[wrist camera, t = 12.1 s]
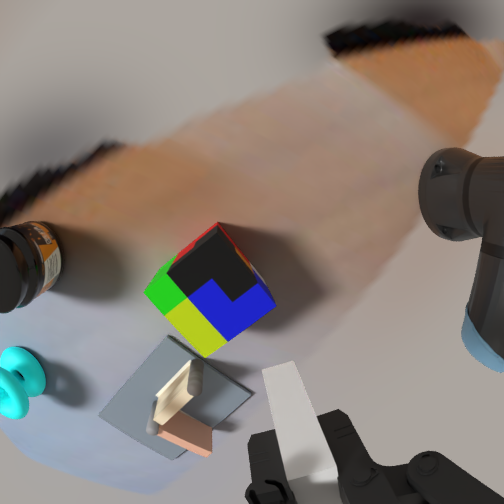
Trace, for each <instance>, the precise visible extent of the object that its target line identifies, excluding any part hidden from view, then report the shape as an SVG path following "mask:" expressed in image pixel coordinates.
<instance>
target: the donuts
mask: <svg viewBox="0 0 504 504" xmlns="http://www.w3.org/2000/svg"><path fill="white" fill-rule="evenodd" d="M0 365H1V367H0V413H1V414H3V415H4V416H6V417H8V418H11V419H21V418H23V417H25V416H26V415H27V413H28V410H29V400H28V397H36V396H39V395H40V394H41V393H42V392H43V391H44V389H45V386H46V378H45V374H44V371H43V369H42V367H41V365H40V364H39V362H38V361H37V359H36V358H35V357H34V356H33V355H32V354H30V353H29V352H28V351H26V350H25V349H23V348H20V347H9V348H7V349H6V350H5V351H4V352H3V353H2V355H1V360H0ZM17 371H19V372H20V373H21V374H22V375H23V377H24V378H22V377H21V376H20V375H19V373H18V372H17Z"/></svg>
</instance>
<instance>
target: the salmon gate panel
mask: <svg viewBox="0 0 504 504" xmlns="http://www.w3.org/2000/svg"><path fill="white" fill-rule="evenodd" d="M157 401H158V400H155V401H154V402H153V404H152V408H151V412H150V416H149V420H148V423H147V427H146V432H147V433H148V434H149V435H152V436H155V435H158V436H160V437H162V438H164V439H166V440H168V441H170V442H172V443H174V444H176V445H179V446H181V447H183V448H185V449H187V450H190V451H192V452H194V453H197V454H199V455H201V456H204V457H206V458H207V457H208V456H209V455H210V454H211V453H212V427H210V426H207V425H205V424H203V423H201V422H199V421H197V420H195V419H193V418H191V417H189V416H187V415H185V414H183V413H181V412H179V411H178V412H177V413H176V414H174V415H173V416H172V417H171V418H170V419H169V420H168V421H167V422H166V423H165V424H163V425H161V424H159V423H157V422H156V421H154V420H153V418H154V414H155V410H156V406H157Z"/></svg>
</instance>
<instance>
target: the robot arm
mask: <svg viewBox="0 0 504 504" xmlns="http://www.w3.org/2000/svg"><path fill="white" fill-rule="evenodd" d="M418 194H419V204H420V209H421V212H422V215H423V218H424V220H425V222H426V224H427V225H428V227H429V228H430V229H431V230H432V231H433V233H435V234H436V235H437V236H439V237H441V238H444V239H447V240H451V241H464V240H469V239H473V238H478V237H482V244H481V249H480V254H479V259H478V264H477V269H476V274H475V278H474V283H473V286H472V290H471V294H470V298H469V302H468V303H467V305H466V309H465V318H464V322H463V326H462V331H461V335H462V340H463V342H464V344H465V347H466V349H467V350H468V351H469V353H470V354H471V355H472V356H473V357H475V359H477V360H478V361H479V362H481V363H482V364H483V365H485V366H486V367H488V368H490V369H492V370H494V371H497V372H500V373H502V372H504V156H503V157H481V156H479V155H476V154H474V153H472V152H469V151H467V150H464V149H461V148H445V149H441V150H438V151H437V152H435V153H434V154H432V155H431V156H430V158H429V159H428V160H427V162H426V163H425V165H424V167H423V170H422V172H421V176H420V180H419V190H418ZM262 373H263V378H264V382H265V387H266V391H267V395H268V400H269V404H270V409H271V413H272V417H273V422H274V425H275V429H274V430H269V431H265V432H261V433H258V434H253V435H251V437H250V440H249V442H248V453H249V462H250V470H251V477H252V483H251V484H250V485H249V486H248V488H247V489H246V492H245V498H246V500H247V501H248V503H249V504H342V503H343V504H504V498H503V497H502V496H500V495H499V494H497V493H496V492H494V491H493V490H492V489H490V488H489V487H487V486H485V485H484V484H483V483H481V482H480V481H478V480H477V479H476V478H474V477H473V476H471V475H470V474H469V473H467V472H466V471H464V470H463V469H461V468H460V467H459V466H457V465H456V464H455V463H453V462H452V461H451V460H449V459H448V458H446V457H445V456H444V455H442V454H440V453H438V452H436V451H426V452H422V453H419V454H418V455H416V456H414V458H412V459H411V460H410V462H409V463H408V464H403V465H397V466H382V465H379V464H377V463H375V462H374V461H373V460H372V459H371V457H370V456H369V454H368V452H367V450H366V449H365V447H364V445H363V443H362V441H361V439H360V437H359V435H358V433H357V432H356V430H355V428H354V426H353V425H352V422H351V420H350V419H349V417H348V415H347V414H345V413H344V412H342V411H340V410H339V409H337V410H334V411H331V412H328V413H325V414H322V415H319V416H316V415H315V412H314V410H313V407H312V405H311V402H310V400H309V397H308V395H307V393H306V390H305V388H304V385H303V383H302V380H301V378H300V376H299V373H298V371H297V368H296V366H295V363H294V361H290V362H287V363H283V364H280V365H276V366H273V367H269V368H266V369H262Z"/></svg>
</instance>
